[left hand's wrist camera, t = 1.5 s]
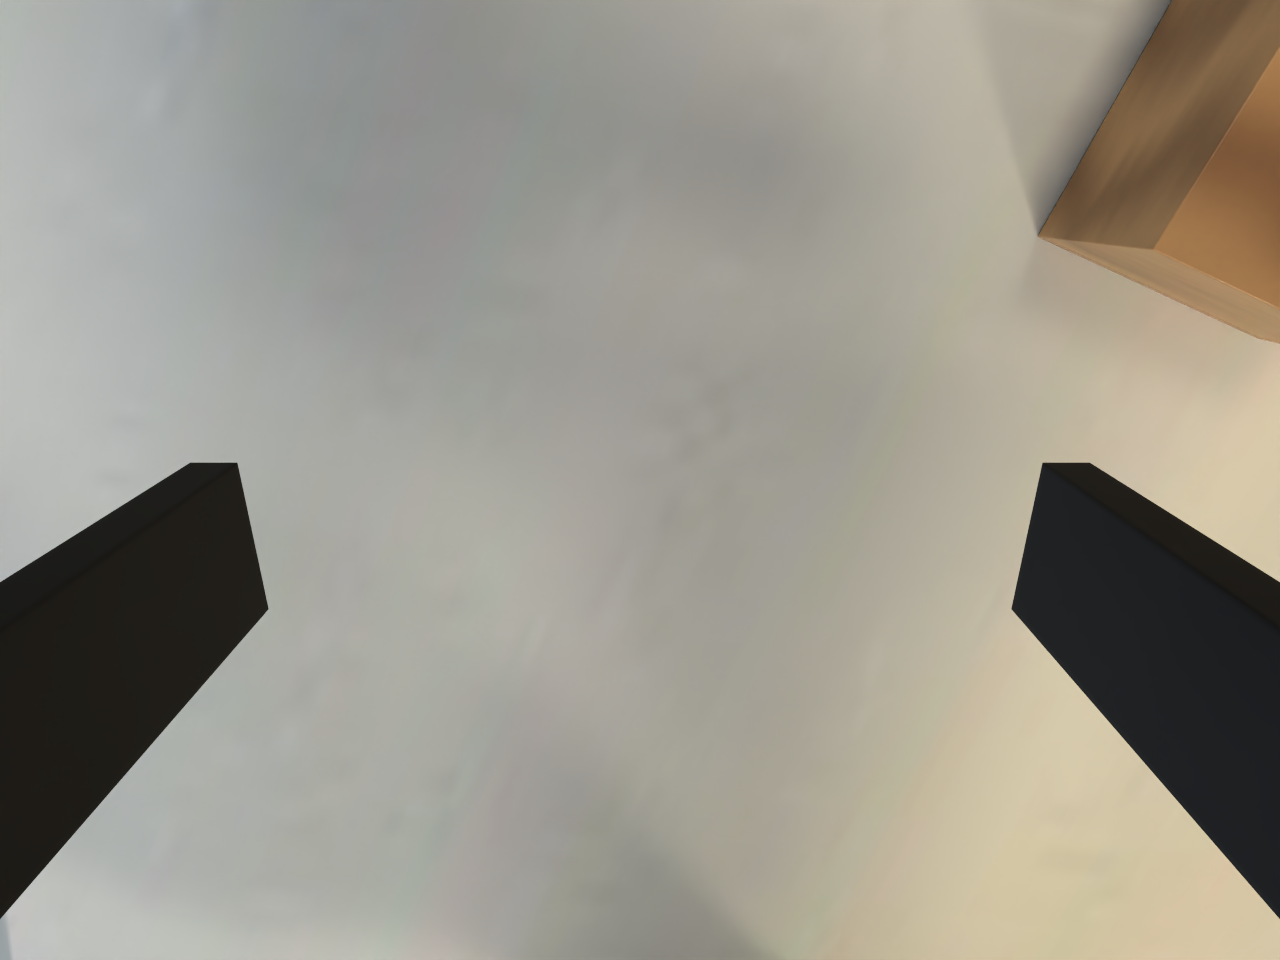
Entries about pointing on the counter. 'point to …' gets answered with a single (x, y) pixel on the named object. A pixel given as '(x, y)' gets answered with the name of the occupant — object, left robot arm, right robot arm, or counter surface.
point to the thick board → (1190, 167)
